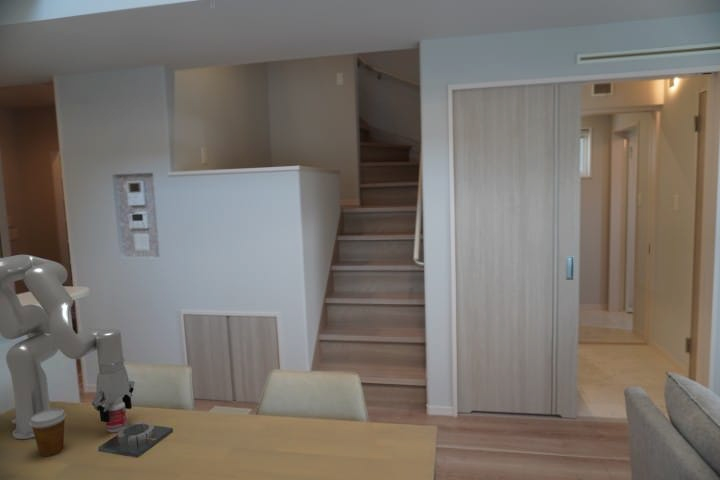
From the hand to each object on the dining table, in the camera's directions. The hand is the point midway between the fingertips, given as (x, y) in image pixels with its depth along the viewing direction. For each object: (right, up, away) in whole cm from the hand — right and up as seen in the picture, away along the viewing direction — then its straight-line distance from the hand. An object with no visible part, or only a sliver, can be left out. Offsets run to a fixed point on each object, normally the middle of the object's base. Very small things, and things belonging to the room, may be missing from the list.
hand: (116, 414), depth 164 cm
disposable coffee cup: (-14, -7, -13) cm, 20 cm away
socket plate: (+11, -5, -8) cm, 14 cm away
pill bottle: (0, -5, +1) cm, 5 cm away
